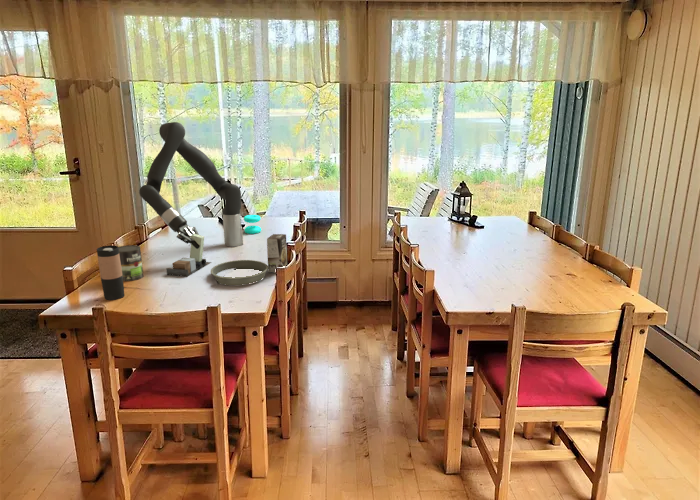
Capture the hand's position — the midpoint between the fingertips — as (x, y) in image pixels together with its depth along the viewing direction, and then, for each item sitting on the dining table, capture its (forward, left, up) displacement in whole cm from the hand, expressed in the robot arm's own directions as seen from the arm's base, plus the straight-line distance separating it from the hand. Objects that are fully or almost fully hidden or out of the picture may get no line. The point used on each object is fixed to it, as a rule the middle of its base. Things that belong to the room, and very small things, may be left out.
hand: (200, 246), depth 221 cm
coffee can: (+31, +5, -10) cm, 33 cm away
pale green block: (+2, -2, -7) cm, 7 cm away
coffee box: (-30, +21, -10) cm, 38 cm away
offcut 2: (+7, +5, -9) cm, 12 cm away
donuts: (-39, -53, -10) cm, 67 cm away
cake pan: (-12, +23, -10) cm, 28 cm away
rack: (+6, +4, -10) cm, 12 cm away
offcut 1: (+10, +9, -9) cm, 16 cm away
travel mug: (+38, +24, -10) cm, 46 cm away
